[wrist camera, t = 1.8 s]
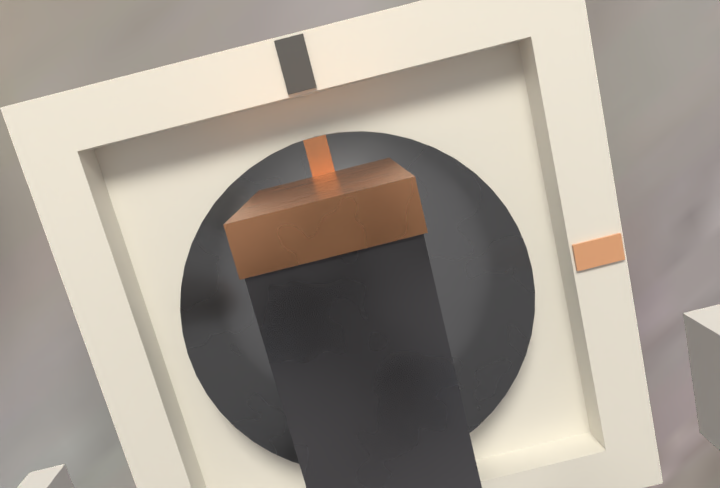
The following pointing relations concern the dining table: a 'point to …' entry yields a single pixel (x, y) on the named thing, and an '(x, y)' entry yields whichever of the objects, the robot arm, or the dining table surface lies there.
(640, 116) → the dining table surface
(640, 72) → the dining table surface
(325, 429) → the dial
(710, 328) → the robot arm
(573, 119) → the dial panel
